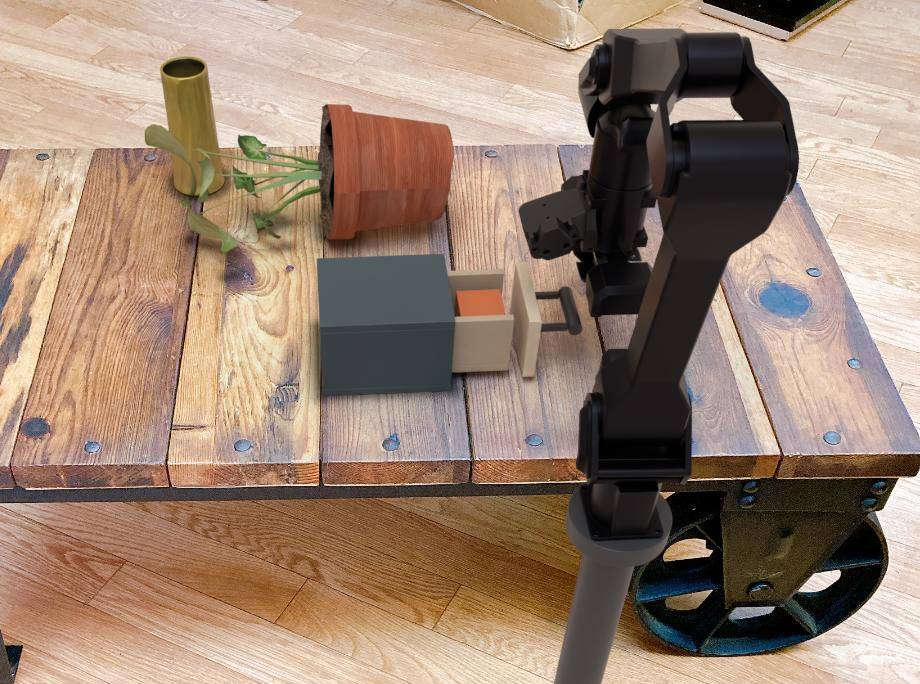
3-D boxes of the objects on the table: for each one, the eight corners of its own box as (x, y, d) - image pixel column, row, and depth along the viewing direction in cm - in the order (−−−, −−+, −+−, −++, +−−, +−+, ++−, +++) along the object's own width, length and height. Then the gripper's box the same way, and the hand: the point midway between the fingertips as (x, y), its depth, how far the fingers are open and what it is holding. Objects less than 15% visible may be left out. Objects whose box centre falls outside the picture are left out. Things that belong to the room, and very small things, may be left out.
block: (502, 352, 110) (506, 316, 106) (458, 354, 110) (460, 318, 106) (496, 324, 113) (500, 288, 109) (453, 326, 112) (455, 290, 109)
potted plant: (424, 196, 134) (129, 196, 129) (441, 78, 122) (117, 73, 117) (445, 280, 125) (128, 283, 119) (466, 161, 113) (115, 159, 107)
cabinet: (440, 322, 116) (444, 253, 109) (450, 390, 109) (455, 321, 102) (320, 327, 115) (316, 258, 109) (323, 396, 108) (319, 326, 102)
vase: (165, 178, 134) (146, 62, 123) (211, 163, 136) (196, 49, 125) (187, 202, 130) (170, 86, 119) (233, 187, 132) (221, 71, 121)
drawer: (563, 314, 115) (572, 260, 110) (579, 374, 109) (589, 319, 104) (410, 320, 115) (412, 265, 109) (418, 381, 109) (420, 326, 103)
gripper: (516, 121, 103) (502, 261, 115) (547, 237, 91) (527, 381, 103) (634, 118, 104) (607, 258, 116) (680, 233, 92) (645, 376, 104)
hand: (594, 315), depth 110 cm, fingers closed
